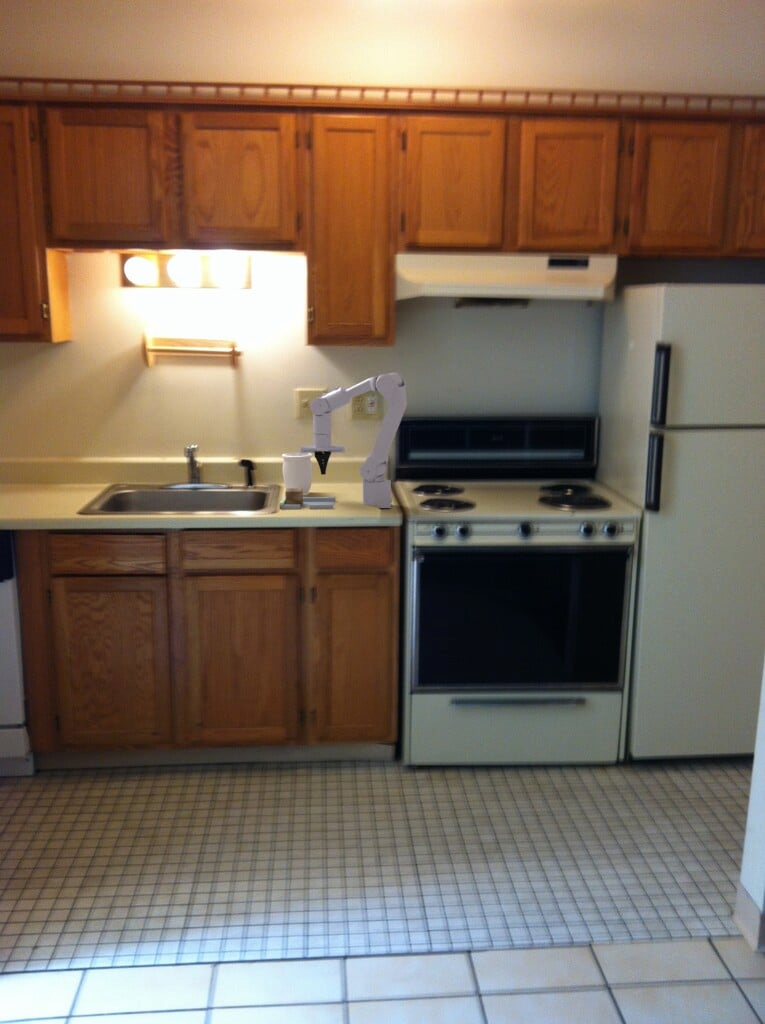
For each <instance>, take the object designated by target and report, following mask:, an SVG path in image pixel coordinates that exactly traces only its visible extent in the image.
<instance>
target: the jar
mask: <svg viewBox="0 0 765 1024" xmlns="http://www.w3.org/2000/svg"><path fill="white" fill-rule="evenodd" d="M312 456H313V455H312V453H301V451H295V452H292V451H291V452H287V453H286V452H285V453H282V455H281V458H282V459H283V461H282V476H283V478H282V479H283V483H284V488H285V489H286V490H287V489H291V488H302V491H303V496H307V495H309V494H310V490H311V486H312V480H313V462H312V460H311V458H312ZM286 490H285V491H286Z"/></svg>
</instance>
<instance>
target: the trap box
mask: <svg viewBox="0 0 765 1024" xmlns="http://www.w3.org/2000/svg"><path fill="white" fill-rule="evenodd" d="M335 504H336V497H335V496H334V497H333V496H332V497H331V496H328V497H327V496H325V497H324V496H323V497H322V496H321V497H320V496H317V497H316V496H315V497H313V496H312V497H310V496H309V497H308V496H307V497H305V496H303V504H302V506H300V505H286V494H284V495H283V497H282V498H281V500H280V501H279V510H300V509H301V508H308V507H309V510H313V509H314V510H316V509H318V510H332V509H333V510H334V507H335Z"/></svg>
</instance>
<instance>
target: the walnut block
mask: <svg viewBox="0 0 765 1024" xmlns="http://www.w3.org/2000/svg"><path fill="white" fill-rule="evenodd" d="M284 495H286V505H300V506H302V504H303V497H304V495H303V491H302V488H291V489H287V490H285V493H284Z"/></svg>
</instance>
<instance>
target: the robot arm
mask: <svg viewBox="0 0 765 1024" xmlns="http://www.w3.org/2000/svg"><path fill="white" fill-rule="evenodd" d="M406 386H407V383H406V381H405V379H404V378H403V376H402V375H401V374H400V373H399V372H395V371H393V372H390V373H383V374H380V375H377V376H372V377H369V378H366V379H365V380H363V381H361V382H359V383H356V384H354V385H353V386H351V387H349V388H346V387H344V386H342V387H340V386H337V387H335V388H334V390H332V391H330V392H328V393H326V392H325V393H322V396H319V397H314V398H313V399H312V400H311V402H310V404H309V409H310V411H311V413H312V418H313V419H312V420H313V422H312V423H313V425H312V426H313V445H309V446H308V445H307V446H306V445H305V446H304V445H303V446H300V452H301V453H311V454H312V453H313V456H314V458H315V460H316V462H317V463H318V464H317V465H318V467H319V469H320V475H326V473H327V468H328V463H329V460H330V457H331V455H332V453H341V454H342V453H343V454H344V453H345V451H346V450H345V449H346V448H345V447H346V446H345V445H332V429H331V427H332V426H331V425H332V424H331V423H332V422H331V419H332V418H331V412H332V411H335V410H337V409H340V408H341V407H344V406H346V405H348V404H350V403H351V400H352V399H353V398H355V397H356V396H360V395H362V394H364V393H367V392H369V391H372V392H378V393H379V394H380V395H381V396H382V397H383V398H385V400H386V403H387V405H388V408H387V410H386V413H385V416H384V418H383V421H382V424H381V426H380V429H379V432H378V435H377V438H376V439H375V442H374V444H373V447H372V450H371V451H370V453H369V454H368V456H367V457H366V459H365V461H364V462H363V463H362V464H361V465H360V467H359V475H360V477H361V478H362V503H363V505H364V506H377V509H378V508H390V509H391V508H392V507H391V506H392V502H393V497H392V487H391V485H392V483H391V479H386V478H385V474H386V473H387V470H388V460H389V455H388V454H389V452H390V450H391V446H392V443H393V442H394V439H395V437H396V434H397V431H398V428H399V426H400V424H401V421H402V419H403V416H404V413H405V411H406V408H407V405H408V401H407V393H406V388H407V387H406Z"/></svg>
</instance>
